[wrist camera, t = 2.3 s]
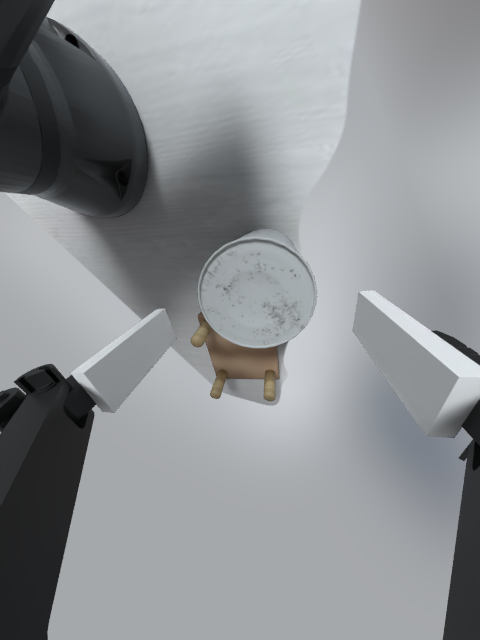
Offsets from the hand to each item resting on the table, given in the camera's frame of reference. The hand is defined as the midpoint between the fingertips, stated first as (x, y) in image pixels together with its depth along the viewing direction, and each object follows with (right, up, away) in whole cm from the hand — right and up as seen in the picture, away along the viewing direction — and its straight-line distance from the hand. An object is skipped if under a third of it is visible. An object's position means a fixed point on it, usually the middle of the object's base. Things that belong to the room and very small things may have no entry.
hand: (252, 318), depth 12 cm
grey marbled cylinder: (+2, +8, +13) cm, 15 cm away
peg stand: (0, -4, +20) cm, 20 cm away
